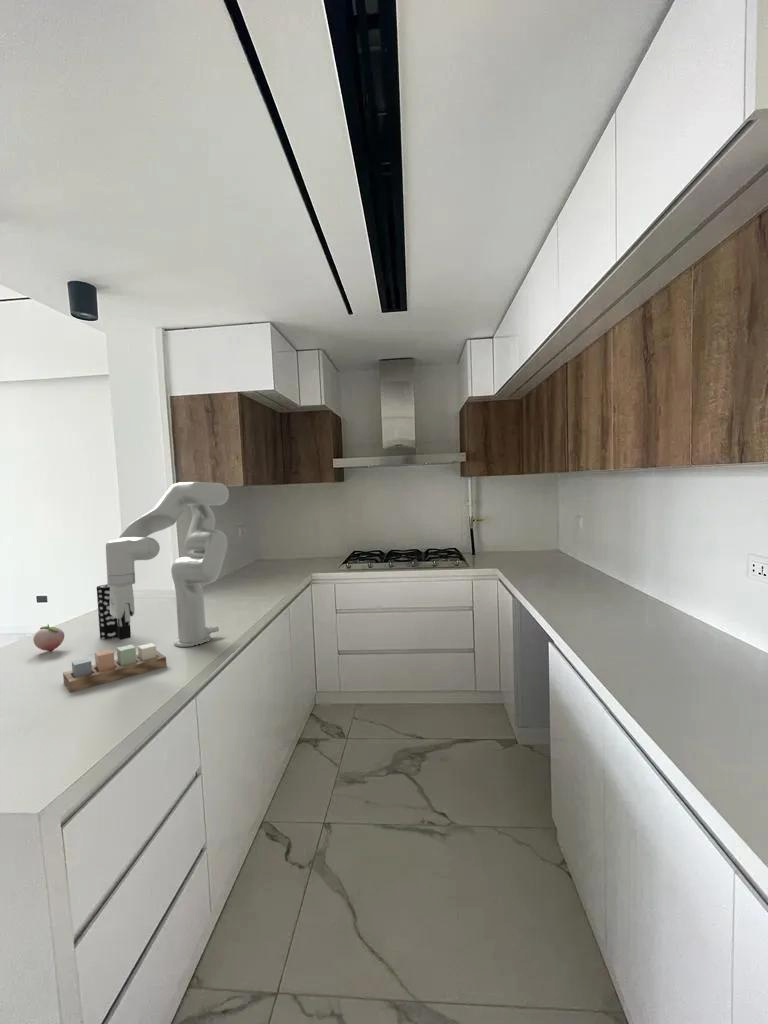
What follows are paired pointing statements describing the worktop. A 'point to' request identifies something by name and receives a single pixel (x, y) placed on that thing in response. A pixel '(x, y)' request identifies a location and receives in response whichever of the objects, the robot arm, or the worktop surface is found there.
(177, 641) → the robot arm
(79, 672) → the grey block
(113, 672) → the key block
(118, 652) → the key sage
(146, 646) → the cream block
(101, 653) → the key terracotta
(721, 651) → the worktop surface
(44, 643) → the decorative fruit
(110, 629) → the spotted tube
